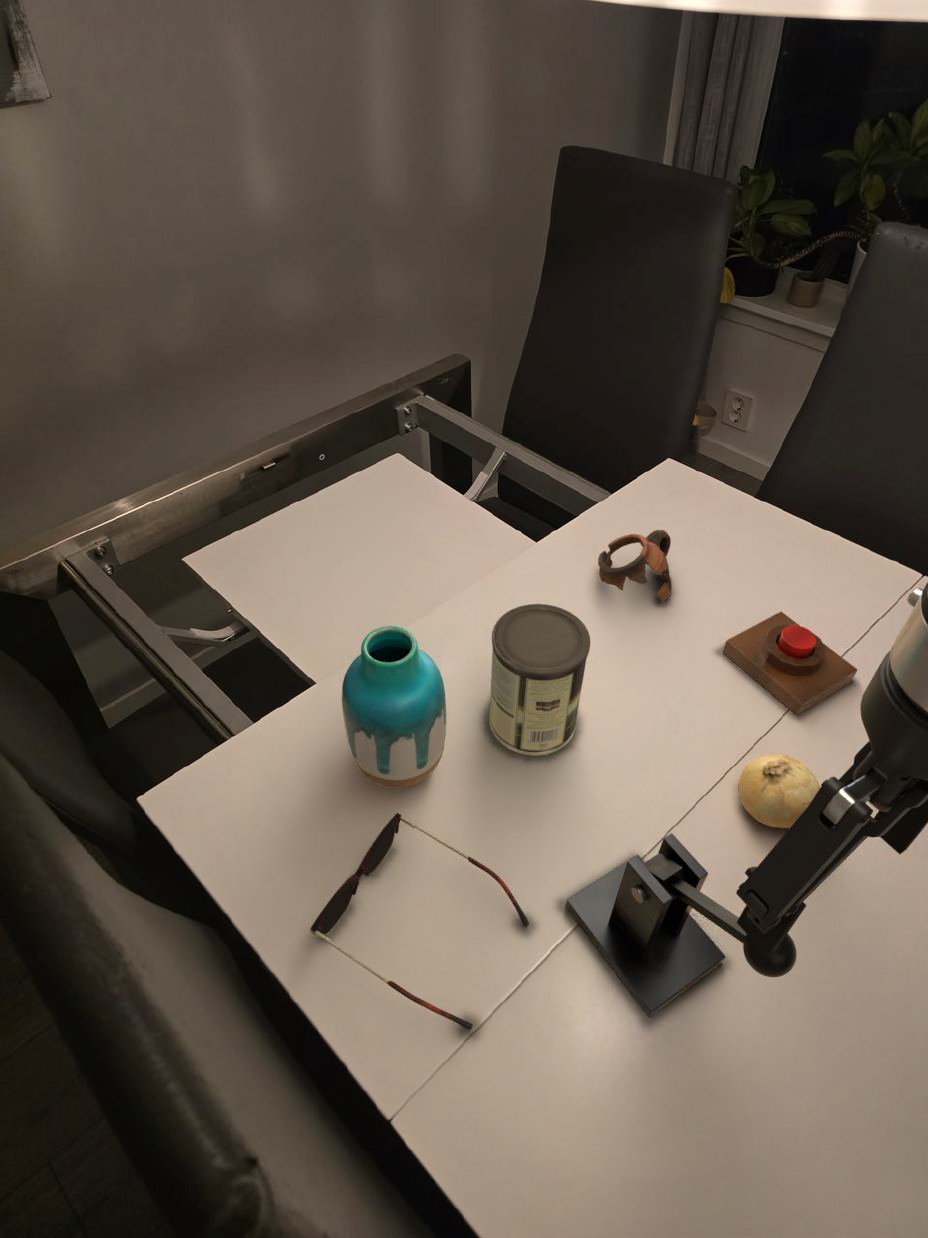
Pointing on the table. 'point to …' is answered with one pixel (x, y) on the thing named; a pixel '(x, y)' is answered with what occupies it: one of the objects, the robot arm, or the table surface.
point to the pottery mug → (639, 561)
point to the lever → (722, 918)
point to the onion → (777, 789)
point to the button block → (788, 665)
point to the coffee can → (537, 678)
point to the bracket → (648, 928)
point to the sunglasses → (368, 866)
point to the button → (796, 641)
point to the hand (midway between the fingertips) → (824, 885)
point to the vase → (394, 709)
